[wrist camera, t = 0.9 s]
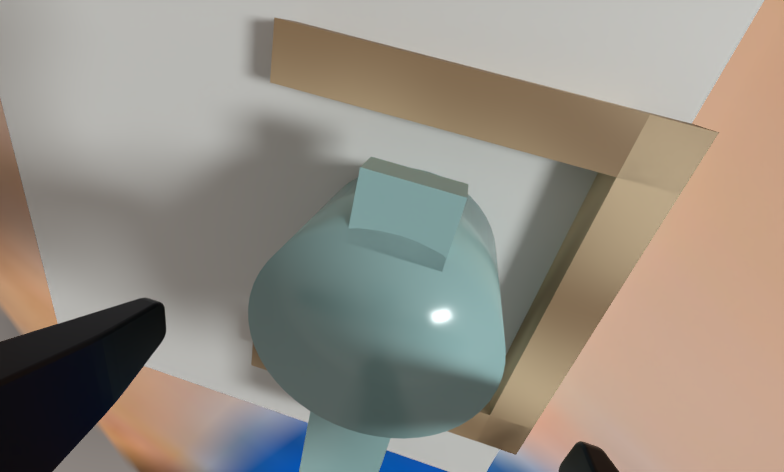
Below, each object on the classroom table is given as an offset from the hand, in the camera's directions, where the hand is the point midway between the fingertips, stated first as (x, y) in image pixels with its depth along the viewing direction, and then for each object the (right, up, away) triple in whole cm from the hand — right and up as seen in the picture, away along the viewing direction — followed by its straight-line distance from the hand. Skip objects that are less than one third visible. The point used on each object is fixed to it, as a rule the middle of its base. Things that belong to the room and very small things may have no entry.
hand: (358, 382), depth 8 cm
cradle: (+2, +2, +5) cm, 5 cm away
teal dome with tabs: (+1, +1, +6) cm, 6 cm away
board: (-3, +4, +6) cm, 8 cm away
